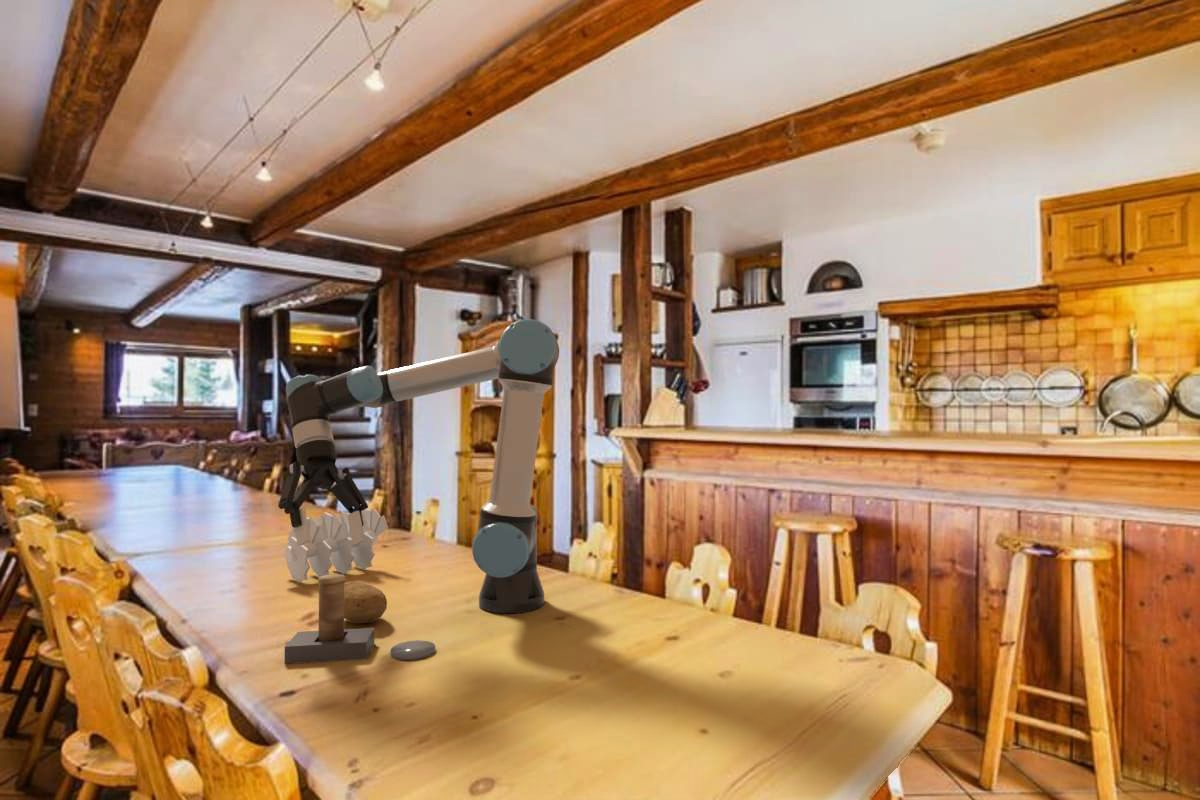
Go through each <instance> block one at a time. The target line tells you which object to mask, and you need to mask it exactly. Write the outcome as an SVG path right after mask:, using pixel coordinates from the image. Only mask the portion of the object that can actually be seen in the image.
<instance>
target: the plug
mask: <svg viewBox="0 0 1200 800" xmlns="http://www.w3.org/2000/svg"><path fill="white" fill-rule="evenodd" d="M317 581H318V583H317V584H318V631H319V642H329V641H343V639H344V629H345V618H344V584H345V581H346V575H344V574H342V573H341V574H339V573H334V574H333V573H332V574H330V573H329V575H324V576H321V577H319V576H318V579H317Z"/></svg>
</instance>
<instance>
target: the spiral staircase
mask: <svg viewBox="0 0 1200 800" xmlns="http://www.w3.org/2000/svg"><path fill="white" fill-rule="evenodd" d="M349 514H350V513H349V512H348V511H347V512H346V511H342V512H341V515H339V516H338V515H337V513H336V512H334V513H333V515H332V514H331V513H328V512H326V511H323V515H320V516H318V517H316V518H315V517H314V515H310V517H307V522H308V528H309V534H310V540H311V541H309V542H307V543H305V544H303V545H301V546H297V540H296V534H295V528H293V527H291V529H290V531H289V534H288V537H287V540H288V541H287V542H286V543H287V544H286V545H287V546H286V547H285V548H284V553H283V554H284V559H285V561H286V565H287V566H286V567H287V569H288V571H289V574H290V575H291V578H292V579H294V580H295V581H296V582H297V583H299V584H302V583H303V581H307V580H308V571H309V570H310V568H311V569H312V572H313V573H315V574H316V575H317V576H318V578H319V577H321V576H324V575H330V572H329V570H330V569H331V568H332V566H333V567H334V569H335V570H336V572H337V573H341V574H342V575H344V574H345V576H347V575H348V572H349V571H353V565H352V562H353V564H354V565H355V568H357V567H358V568H360V569H361V570H362V569H363V570H362V571H364V570H365V569H367V568H371V567H373V564H372V560H373V559H374V557H375V555H376V553H375V552H374V549H373V546H374V545H373V544H375V543H377V541H378V539H379V538H378V537H379V536H380V535H381V534H382V533H384V532H386V531H387V530H389V526H388V523H387V519H386V516H385V514H383V515H380V514H379V512H378V511H377V509H376V508H375V507H372V509H371V510H370V509H368V508H367V509H365V510H363V511H362V512H361V514H362V519H363V524H364V525H363V532H364V537H365V541H363V542H361V543H359V544H357V545H353V542H352V537H351V532H350V527H349V521H348V516H347V515H349ZM365 571H366V570H365ZM346 574H347V575H346ZM301 582H302V583H301Z"/></svg>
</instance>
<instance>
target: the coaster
mask: <svg viewBox="0 0 1200 800" xmlns="http://www.w3.org/2000/svg"><path fill="white" fill-rule="evenodd" d="M435 652H436V645H435V643H434V642H432V641H429V640H421V639H420V640H419V639H418V640H407V641H404V642H400V643H397V644H395V645H394V646H392V647H391V649H390V657H391V658H393V659H395V660H399V661H414V660H415V661H416V660H422V659H425V658H428V657H430V656H432V655H433V654H434V653H435Z"/></svg>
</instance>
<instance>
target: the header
mask: <svg viewBox="0 0 1200 800" xmlns="http://www.w3.org/2000/svg"><path fill="white" fill-rule="evenodd" d="M374 645H375V627H368V628H367V627H366V628H365V627H364V628H348V629H346V628H344V639H343V641H329V642H319V630H308V631H307V630H306V631H297V632H296V633H295V635H293V637H292V638H291V639H290V640H289V641H288V642H287V643H286V645H284V664H299V663H300V664H302V662H303V663H316V662H317V663H319V661H320V662H333V661H334V662H335V661H350V660H351V659H354V660H366V659H368V656H369V655H370V653H371V651H372V649H373V647H374ZM368 654H369V655H368ZM351 661H352V660H351Z"/></svg>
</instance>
